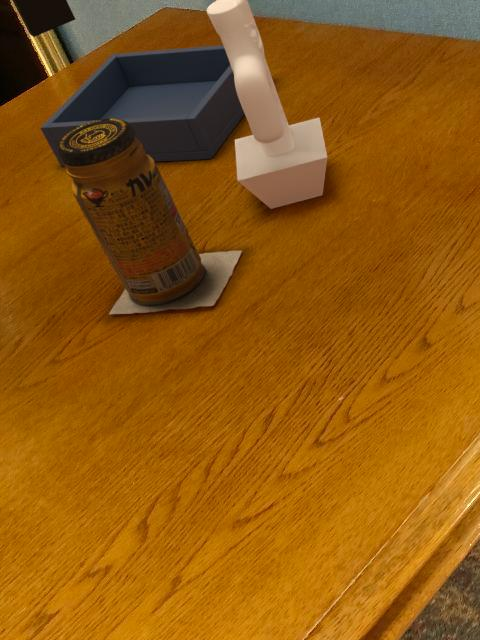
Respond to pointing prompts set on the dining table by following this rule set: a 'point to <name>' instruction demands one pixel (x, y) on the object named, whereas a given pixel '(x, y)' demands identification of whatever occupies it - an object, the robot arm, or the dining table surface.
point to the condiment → (139, 222)
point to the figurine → (267, 118)
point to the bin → (158, 101)
